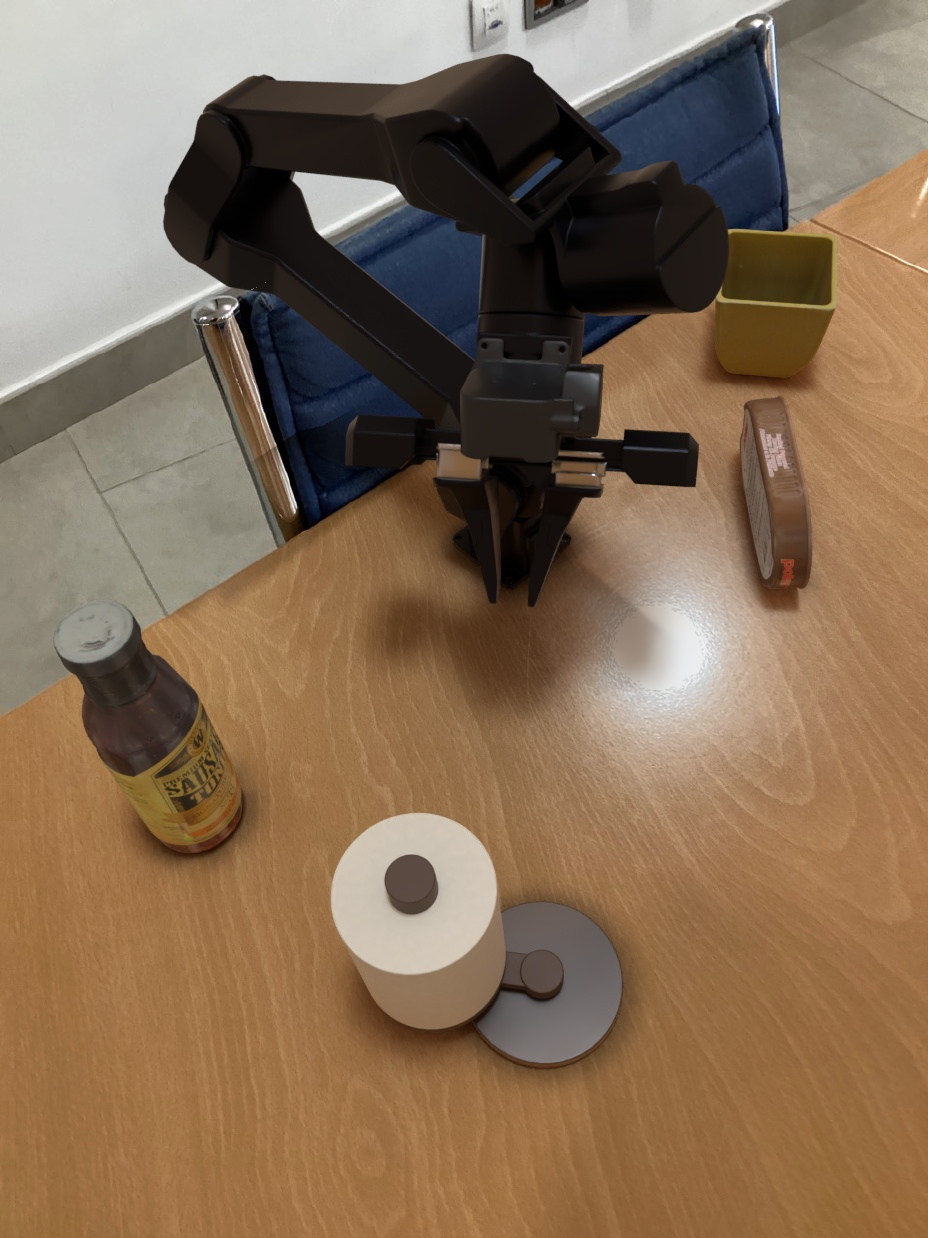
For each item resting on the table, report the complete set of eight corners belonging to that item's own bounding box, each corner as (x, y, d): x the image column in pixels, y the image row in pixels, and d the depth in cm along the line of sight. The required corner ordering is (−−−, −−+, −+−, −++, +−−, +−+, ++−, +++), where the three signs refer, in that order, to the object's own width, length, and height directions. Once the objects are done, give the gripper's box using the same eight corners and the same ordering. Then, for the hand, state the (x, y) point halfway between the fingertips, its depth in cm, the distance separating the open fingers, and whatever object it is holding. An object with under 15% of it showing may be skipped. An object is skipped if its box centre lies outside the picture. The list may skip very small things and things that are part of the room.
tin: (802, 612, 73) (828, 535, 66) (756, 614, 73) (776, 537, 66) (769, 453, 82) (789, 369, 75) (728, 454, 82) (744, 372, 75)
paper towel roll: (338, 959, 60) (290, 874, 50) (457, 856, 63) (436, 755, 53) (449, 1096, 56) (424, 1035, 45) (572, 978, 59) (575, 895, 48)
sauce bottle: (222, 869, 65) (111, 709, 49) (134, 842, 67) (-2, 677, 51) (266, 777, 69) (175, 598, 53) (181, 753, 70) (68, 572, 54)
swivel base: (431, 979, 61) (429, 974, 60) (544, 876, 64) (544, 870, 63) (539, 1105, 57) (539, 1101, 56) (656, 989, 60) (657, 984, 59)
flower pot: (813, 399, 85) (837, 307, 77) (702, 389, 86) (715, 299, 79) (815, 326, 89) (838, 233, 82) (709, 318, 91) (723, 227, 84)
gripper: (320, 294, 50) (311, 616, 53) (719, 310, 48) (687, 648, 51) (375, 317, 61) (365, 583, 64) (704, 331, 59) (678, 608, 62)
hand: (512, 604), depth 60 cm, fingers closed
